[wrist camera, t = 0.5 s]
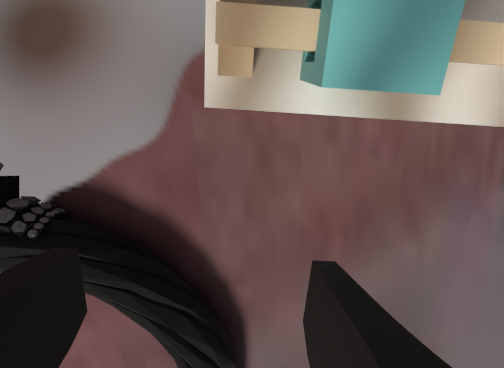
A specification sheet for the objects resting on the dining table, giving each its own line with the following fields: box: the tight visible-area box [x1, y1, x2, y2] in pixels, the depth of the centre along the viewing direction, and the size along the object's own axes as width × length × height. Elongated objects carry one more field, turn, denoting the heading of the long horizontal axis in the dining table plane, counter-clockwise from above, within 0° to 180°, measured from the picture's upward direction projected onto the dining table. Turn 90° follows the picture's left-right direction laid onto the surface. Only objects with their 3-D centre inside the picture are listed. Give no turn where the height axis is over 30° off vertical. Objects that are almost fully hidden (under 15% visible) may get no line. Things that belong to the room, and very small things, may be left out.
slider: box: [300, 0, 465, 95], centre depth 12 cm, size 4×4×5 cm
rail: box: [204, 0, 504, 127], centre depth 13 cm, size 21×7×6 cm, turn 86°
